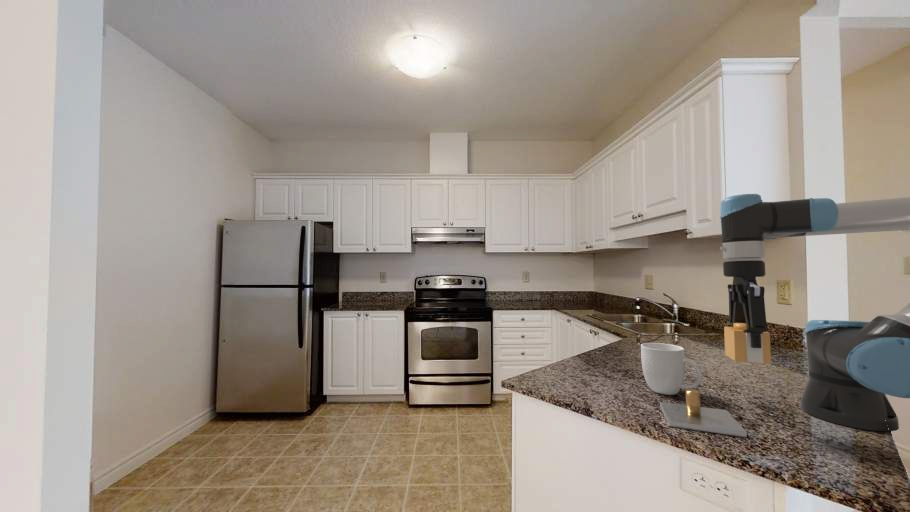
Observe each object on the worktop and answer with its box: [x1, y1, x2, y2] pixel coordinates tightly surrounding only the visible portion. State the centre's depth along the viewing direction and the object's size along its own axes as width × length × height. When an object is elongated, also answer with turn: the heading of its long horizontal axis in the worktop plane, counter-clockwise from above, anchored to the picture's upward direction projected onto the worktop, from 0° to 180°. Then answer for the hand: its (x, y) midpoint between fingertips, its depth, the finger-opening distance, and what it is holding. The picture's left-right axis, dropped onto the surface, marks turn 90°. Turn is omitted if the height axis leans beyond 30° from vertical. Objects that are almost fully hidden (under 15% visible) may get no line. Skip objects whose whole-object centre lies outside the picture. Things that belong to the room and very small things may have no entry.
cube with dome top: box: [723, 323, 772, 365], centre depth 78 cm, size 6×6×8 cm
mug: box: [640, 342, 703, 396], centre depth 97 cm, size 15×11×13 cm
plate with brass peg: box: [659, 388, 748, 438], centre depth 79 cm, size 14×12×7 cm
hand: (748, 358), depth 78 cm, fingers closed on cube with dome top, 6 cm apart
